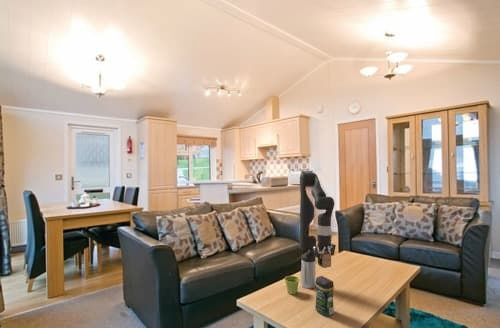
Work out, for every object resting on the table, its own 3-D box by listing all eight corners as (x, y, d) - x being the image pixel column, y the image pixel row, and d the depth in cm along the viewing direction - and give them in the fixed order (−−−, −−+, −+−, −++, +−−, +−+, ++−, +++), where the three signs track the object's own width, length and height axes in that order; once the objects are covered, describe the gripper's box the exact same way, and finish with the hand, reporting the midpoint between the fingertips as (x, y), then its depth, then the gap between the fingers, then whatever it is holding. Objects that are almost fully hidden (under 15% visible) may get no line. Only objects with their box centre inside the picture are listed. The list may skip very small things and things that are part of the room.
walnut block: (317, 264, 150) (317, 252, 150) (325, 263, 152) (325, 251, 152) (323, 268, 145) (323, 255, 145) (331, 266, 147) (331, 253, 147)
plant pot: (292, 297, 165) (292, 283, 165) (281, 291, 172) (281, 278, 172) (302, 293, 170) (302, 279, 170) (292, 287, 178) (292, 274, 178)
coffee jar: (312, 309, 151) (312, 276, 151) (323, 305, 155) (323, 273, 155) (325, 318, 143) (325, 283, 143) (336, 314, 147) (336, 280, 147)
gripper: (330, 230, 155) (330, 259, 155) (309, 232, 149) (309, 263, 150) (339, 233, 148) (339, 264, 148) (317, 236, 143) (317, 268, 143)
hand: (324, 263), depth 149 cm, fingers closed on walnut block, 5 cm apart
